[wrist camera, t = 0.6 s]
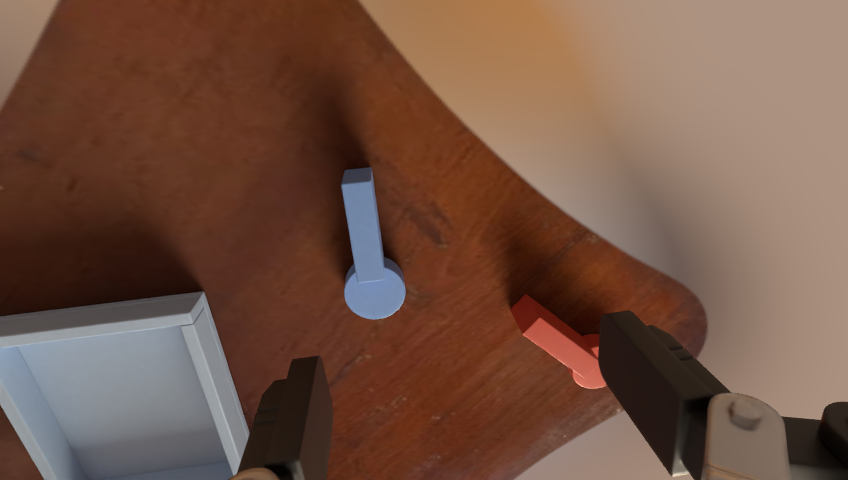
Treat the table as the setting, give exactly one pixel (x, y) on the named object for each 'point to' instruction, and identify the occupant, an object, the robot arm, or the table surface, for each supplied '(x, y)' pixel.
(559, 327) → the red disc with bar
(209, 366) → the blue tray
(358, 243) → the blue spoon
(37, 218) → the table surface
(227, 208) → the table surface
